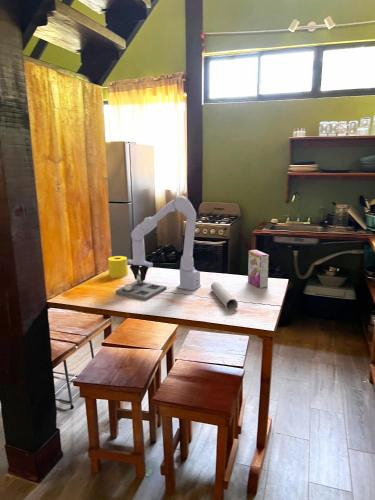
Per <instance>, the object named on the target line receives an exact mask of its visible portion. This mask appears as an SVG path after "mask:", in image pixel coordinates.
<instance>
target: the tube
mask: <svg viewBox="0 0 375 500" xmlns="http://www.w3.org/2000/svg"><path fill="white" fill-rule="evenodd" d="M210 290H211V291H212V293H214V295H215V296H216V297H217V298H218V299H219V300H220V302H221V303H222V304H223V305H224V307H225V308H226V309H227V311H228V312H229V311H235V310H237V308H238V306H239V305H238V304H239V303H238V301H237V299H235V298H234V297H233V296H232V295H231V294H230V293H229V292H228V290H226V289H225V288H224V287H223V286H222V284H220V283H219V282H218V281H216V282H213V283H211V285H210Z"/></svg>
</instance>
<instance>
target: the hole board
mask: <svg viewBox="0 0 375 500" xmlns="http://www.w3.org/2000/svg"><path fill="white" fill-rule="evenodd" d="M130 284H131V285H132V292H130V293H129V292H125V285H124V286H123V287H120V288H118V289H116V290H115V292H114V293H115V295H121V296H124V297H129V298H134V299H139V300H144V301H149V300H151V299H152V298H154V297H155V296H157V295H159V294H160V293H161V294H162V292H163V293H164V291H166V290H167V285H166V286H165V285H160V284H155V283H150V282H145V281H143V283H141V284H138V283H137V280H135V281H133V282H131V283H130Z"/></svg>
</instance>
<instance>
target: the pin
mask: <svg viewBox="0 0 375 500" xmlns="http://www.w3.org/2000/svg"><path fill="white" fill-rule="evenodd" d="M124 286H125V292H129V293H130V292H132V285H131V283H128V284H124Z"/></svg>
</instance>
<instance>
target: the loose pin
mask: <svg viewBox="0 0 375 500" xmlns="http://www.w3.org/2000/svg"><path fill="white" fill-rule="evenodd" d="M136 281H137V283H138V284H141V283H143V282H144V281H141V274H140V273H139V274H137V280H136Z"/></svg>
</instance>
